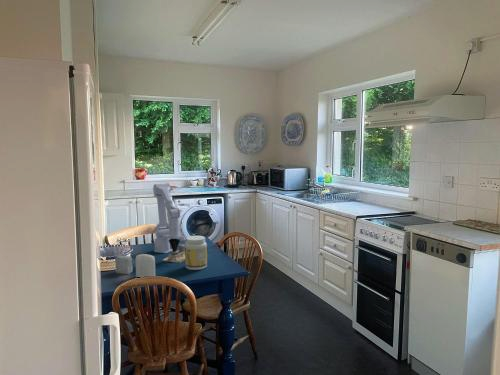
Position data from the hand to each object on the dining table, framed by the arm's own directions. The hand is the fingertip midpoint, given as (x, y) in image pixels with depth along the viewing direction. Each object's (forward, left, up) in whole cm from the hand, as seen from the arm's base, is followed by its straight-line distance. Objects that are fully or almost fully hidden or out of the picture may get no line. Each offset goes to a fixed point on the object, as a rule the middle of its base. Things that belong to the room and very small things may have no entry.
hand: (174, 251), depth 226 cm
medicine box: (-13, -29, -6) cm, 32 cm away
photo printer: (+3, -31, -6) cm, 32 cm away
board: (0, +7, -5) cm, 9 cm away
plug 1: (0, 0, -4) cm, 4 cm away
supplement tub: (+19, -7, -6) cm, 21 cm away
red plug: (0, +14, -2) cm, 14 cm away
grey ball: (0, +7, -2) cm, 7 cm away
